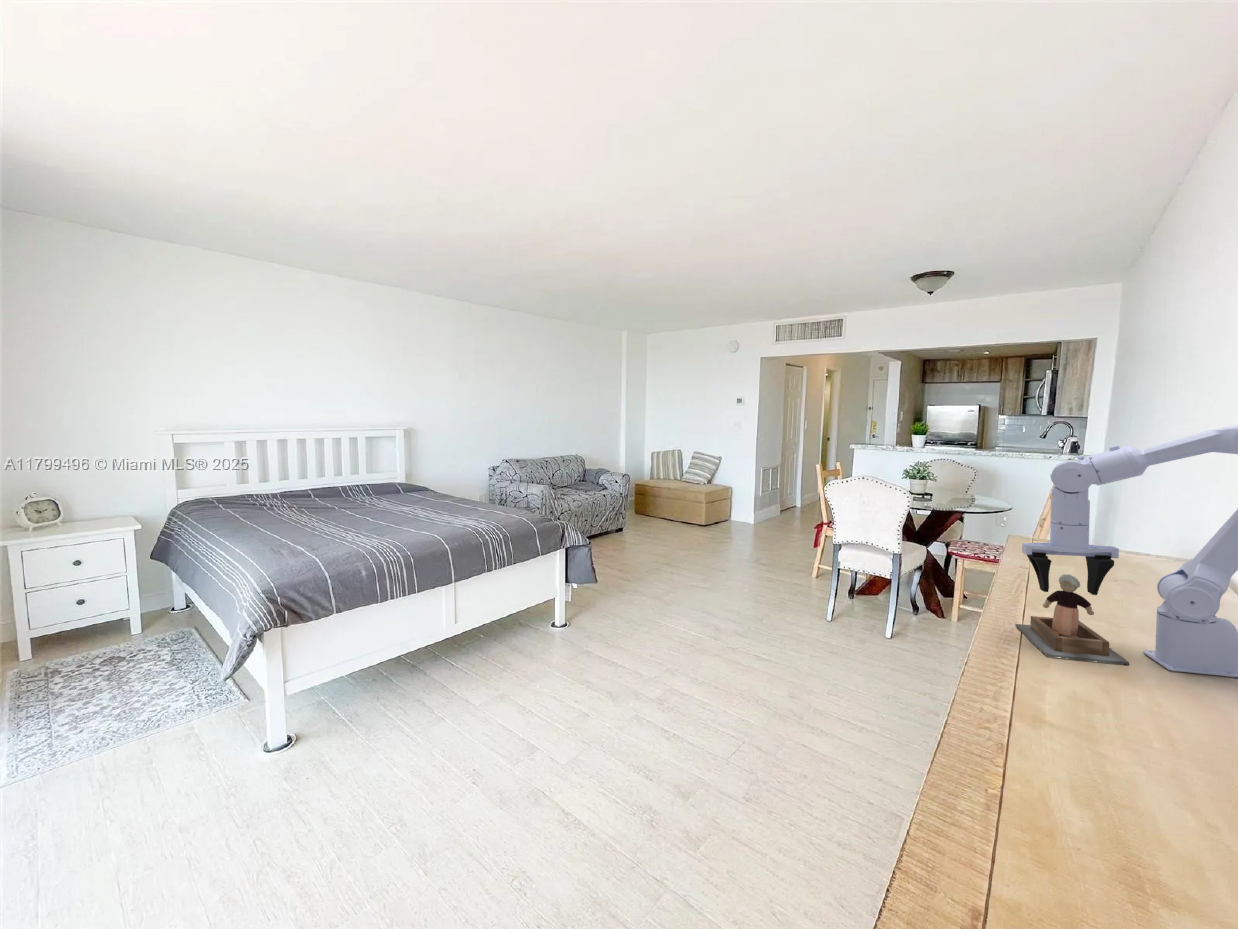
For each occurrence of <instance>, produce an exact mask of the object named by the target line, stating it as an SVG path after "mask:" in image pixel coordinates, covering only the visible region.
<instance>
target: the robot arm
mask: <svg viewBox="0 0 1238 929" xmlns="http://www.w3.org/2000/svg"><path fill="white" fill-rule="evenodd" d="M1209 453H1221V454H1230V455H1238V424H1237V425H1231V426H1224V427H1218V428H1214V429H1213V428H1212V429H1208V430H1205V431H1202V432H1198V433H1195V434H1191V435H1187V436H1184V437H1180V438H1176V439H1173V440H1171V441H1167V442H1163V443H1159V444H1156V445H1153V446H1149V447H1146V448H1142V449H1138V448H1136V447H1133V446H1130V445H1125V446H1121V447H1120V446H1119V444H1116V445H1112V446H1109V447H1108V450H1106V451H1102V452H1099V453H1094V454H1091V455H1088V456H1085V455H1084V454H1081V455H1079V456H1077V460H1078V461H1072V460H1066V461H1063V462H1060V463H1058V464H1056V466H1054V467H1053V469H1052V471H1051V474H1050V479H1051V482H1052V483H1053V487H1052V490H1051V496H1052V498H1050V525H1049V526H1050V536H1049V537H1050V539H1049V542H1022V543H1021V544H1022V548H1021V550H1022V551H1021V553H1023V554H1025V555H1026V556H1027V558H1028V560H1029V562H1030V563H1031V565H1032V567H1033V569H1034V573H1035V574H1036V577H1037V582H1038V584H1039V590H1041V591H1042V592H1045V593H1049V590H1050V579H1049V578H1050V576H1049V575H1050V569H1051V565H1052V560H1051V559H1050V558H1049V556H1048V555H1051V556H1054V555H1055V556H1072V557H1074V556H1075V557H1085V560H1086V568H1087V580H1086V581H1087V583H1086V588H1087V593H1089V594H1090V595H1093V596H1098V594H1099V591H1100V588H1101V585H1102V582H1103V581H1104V579H1105V578H1106V576H1107V574H1108V573H1109V572H1110V570H1111V569H1112V568H1113V567H1114V566H1115V560H1114V559H1119V556H1120V548H1118V547H1117V546H1110V545H1098V544H1097V545H1095V544H1090V515H1091V513H1090V511H1091V500H1089V488H1090V487H1091V486H1092V485H1096V486H1102V485H1107V484H1110V483H1114V482H1119V481H1122V480H1123V481H1124V480H1129V479H1131V478H1135V477H1140V476H1142V475H1143V474H1144V473H1145V471H1146V470H1147V469H1148V467H1150V466H1154V465H1159V464H1165V463H1168V462H1172V461H1176V460H1177V461H1178V460H1181V459H1186V458H1190V457H1195V456H1196V457H1197V456H1199V455H1200V456H1201V455H1203V454H1209ZM1237 571H1238V508H1237V509H1236V510H1235V511H1234V512H1233V513H1232V515H1231V516H1230V517H1229V518H1228V519H1227V520H1226V521H1225V522H1224V523H1223V524H1222V526H1221V527H1220V528H1219V529H1218V530H1217V531H1216V532H1215V534H1214V535H1213V536H1212V537H1211V538H1210V539H1209V540H1208V541H1207V543H1206V544H1205V545H1204V546H1203V547H1202V548H1201V549H1200V550H1199V552H1197V553H1196V555H1195V556H1194V557H1193V558H1191V559H1190V560H1187V561H1186V562H1184V563H1183V564H1181V566H1180V567H1179V568H1178V569H1177V570H1175V571H1173V572H1171V573H1168V574H1166V575H1163V576H1162V577H1161V578H1160V579H1159V580H1158V582H1157V585H1156V589H1157V593H1158V595H1159V596H1160V597H1161V598H1162V600H1163V602H1162V603H1161V604H1160V605H1159V606H1157V607H1156V621H1155V622H1156V623H1155V645H1154V646H1155V649H1154V650H1148V649H1147V650H1146V649H1144V650H1143V651H1142V653H1143V654H1145V656H1147V657H1149V658H1151V659H1152V660H1153V661H1155V662H1156V663H1157V664H1158V665H1161V666H1162V667H1164V668H1165V669H1167V670H1168V671H1172V672H1181V673H1189V674H1201V675H1210V676H1220V677H1221V676H1222V677H1230V678H1231V677H1232V678H1238V629H1237V627H1236V625H1235V624H1234V623H1233V622H1231V621H1230V620H1228V619H1226V618H1223V617H1217V616H1216V614H1218V612H1219V610H1220V604H1221V599H1222V597H1223V596H1224V595H1225V593H1227V591H1228V588H1229V585H1230V581H1231V578H1232V577H1233V576H1234V574H1236V573H1237Z"/></svg>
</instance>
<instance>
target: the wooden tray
mask: <svg viewBox="0 0 1238 929" xmlns="http://www.w3.org/2000/svg"><path fill="white" fill-rule="evenodd" d="M1029 622H1030V624H1021V623H1020V624H1019V623H1015V624H1014V625H1015V626H1016V627H1017V628H1018V629H1019V630H1020V631H1021V632H1022V633H1023V634H1024V637H1026V639H1027V640H1029V642H1030V643H1032V644H1033V643H1034V644H1035V645H1034V644H1033V645H1034V646H1035V647H1036V648H1037V647H1038V648H1039V649H1040V650H1041V651H1042V652H1043V653H1044V654H1045V655H1046V656H1047V657H1046V656H1045V655H1044V654H1043V653H1042V652H1041V651H1040V650H1039V649H1038V648H1037V649H1038V650H1039V651H1040V652H1041V653H1042V654H1043V655H1044V656H1045V657H1046V658H1049V657H1061V658H1068V659H1067V660H1069V659H1073V660H1072V661H1079V660H1081V662H1089V661H1097V662H1096V663H1099V662H1102V664H1109V663H1112V665H1119V664H1127V665H1126V666H1130V662H1129V661H1128V660H1127V659H1125V658H1124V657H1123V656H1121V654H1119V653H1117V652H1116V651H1115V650H1113V649H1112V648H1111V647H1110V641H1108V640H1107V639H1106V638H1104V637H1103V636H1101V635H1099V633H1097V632H1096V631H1094V630H1093V628H1090V627H1089V626H1087V625H1086V624H1085V623H1083V622H1082V621H1080V620H1079V623H1078V630H1077V635H1075V637H1076V638H1075V637H1065V635H1062V636H1059V635H1058V634H1057V633H1055V632H1054V631H1053V630H1052V622H1053V617H1047V616H1036V615H1035V616H1033V615H1030V621H1029ZM1015 626H1014V627H1015ZM1016 627H1015V628H1016ZM1017 628H1016V629H1017ZM1018 629H1017V630H1018ZM1019 630H1018V631H1019ZM1020 631H1019V632H1020ZM1021 632H1020V633H1021ZM1022 633H1021V634H1022ZM1023 634H1022V635H1023ZM1103 662H1104V663H1103Z"/></svg>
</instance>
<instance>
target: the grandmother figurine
mask: <svg viewBox="0 0 1238 929" xmlns="http://www.w3.org/2000/svg"><path fill="white" fill-rule="evenodd" d="M1058 582H1059V583H1058V584H1059V587H1060V589H1061V590H1056V591H1054V592H1052V593H1051V594H1050V595H1049V596H1047V597H1046V599H1045V600H1044V602H1043V604H1042V607H1043V608H1045V609H1048V608H1049V607H1050V605H1052V603H1055V602H1056V605H1055V606H1054V610H1053V616H1052V618H1053V622H1052V630H1053V631H1054V632H1055V633H1057V634H1058V635H1059V636H1062V635H1065V637H1075V635H1077V630H1078V623H1079V621H1080V620H1079V619H1080V618H1079V616H1080V614H1079V608H1078V606H1079V607H1081V608H1083V609H1084V610H1085V611H1086V613H1087V615H1089V616H1094V615H1095V612H1094V610H1093V608H1092V604H1091V603H1090V601H1089V600H1087V599H1086V598H1085V597H1084V596H1082V595H1081V594H1078V593H1076V592H1075V591H1077V590H1078V588H1080V587H1081V582H1080V581H1079V579H1078V578H1077V577H1075V576H1074V575H1072V574H1070V573H1068V574H1067V573H1062V574H1061V575H1060V576H1059V578H1058ZM1075 638H1076V637H1075Z"/></svg>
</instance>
